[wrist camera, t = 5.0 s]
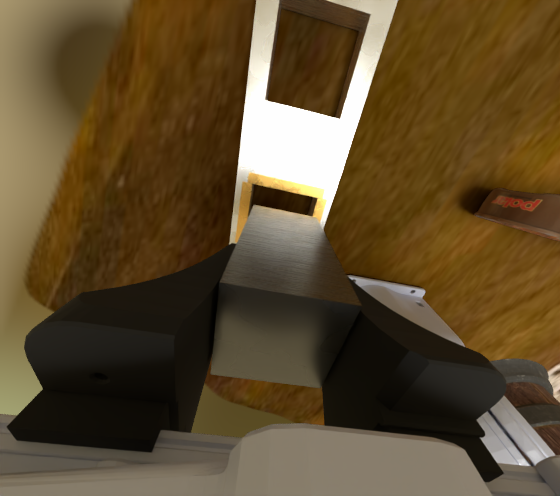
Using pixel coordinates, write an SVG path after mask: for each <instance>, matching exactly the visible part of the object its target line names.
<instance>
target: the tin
mask: <svg viewBox="0 0 560 496" xmlns="http://www.w3.org/2000/svg"><path fill="white" fill-rule="evenodd" d="M474 215H475V216H477V217H480V218H484V219H487V220H490V221H493V222H497V223H500V224H503V225H506V226H510V227H513V228H516V229H520V230H523V231H526V232H529V233H533V234H536V235H539V236H543V237H546V238H549V239H553V240H556V241H560V195H559V194H535V193H527V192H519V191H510V190H507V189H504V188H496V189H494V190H492V191H491V193H490V194H489V195H488V196H487V198H486V199H485V201H484V202H483V204H482V205H481V207H480V209H479V210H478V212H476V213H475V214H474Z"/></svg>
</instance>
